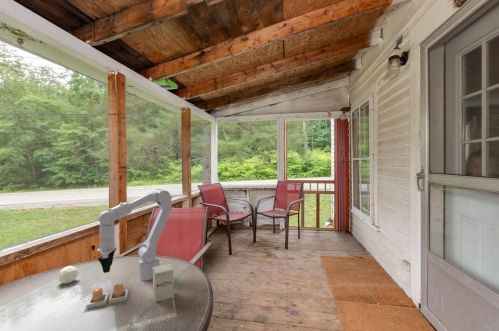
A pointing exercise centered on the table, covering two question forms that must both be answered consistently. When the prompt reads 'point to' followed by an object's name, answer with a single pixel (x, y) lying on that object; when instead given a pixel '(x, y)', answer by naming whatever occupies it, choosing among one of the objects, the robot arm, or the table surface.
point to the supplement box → (163, 282)
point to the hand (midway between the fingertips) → (107, 268)
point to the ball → (68, 274)
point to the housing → (107, 301)
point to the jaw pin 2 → (118, 290)
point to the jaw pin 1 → (97, 295)
